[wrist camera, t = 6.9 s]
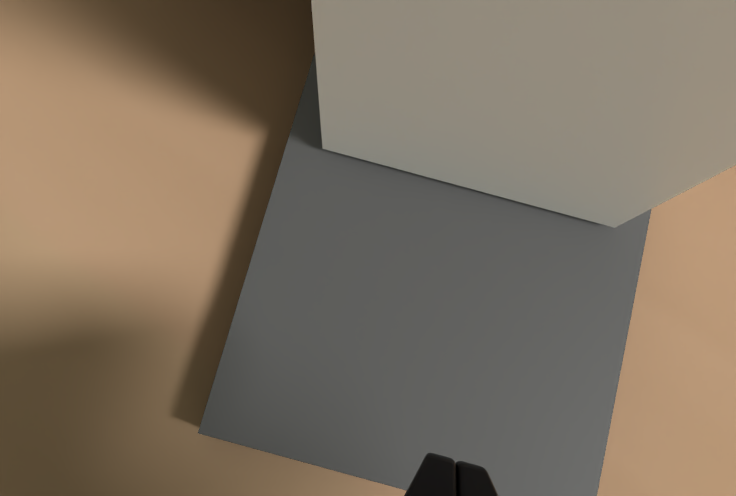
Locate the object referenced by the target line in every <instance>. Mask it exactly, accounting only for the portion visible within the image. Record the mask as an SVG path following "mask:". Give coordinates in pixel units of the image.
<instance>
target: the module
mask: <svg viewBox="0 0 736 496" xmlns="http://www.w3.org/2000/svg"><path fill="white" fill-rule="evenodd" d="M311 4H312V17H313V30H314V44H315V57H316V70H317V83H318V96H319V109H320V122H321V135H322V149H326V150H329V151H333V152H337V153H340V154H344V155H348V156H351V157H355V158H359V159H363V160H366V161H370V162H374V163H377V164H381V165H385V166H388V167H392V168H396V169H399V170H403V171H407V172H411V173H414V174H418V175H422V176H425V177H429V178H433V179H436V180H440V181H444V182H448V183H451V184H455V185H459V186H462V187H466V188H470V189H473V190H477V191H481V192H484V193H488V194H492V195H496V196H499V197H503V198H507V199H510V200H514V201H518V202H521V203H525V204H529V205H533V206H536V207H540V208H544V209H547V210H551V211H555V212H558V213H562V214H566V215H569V216H573V217H577V218H581V219H584V220H588V221H592V222H595V223H599V224H603V225H606V226H610V227H614V228H615V227H617V226H619V225H621V224H623V223H625V222H627V221H629V220H631V219H633V218H634V217H636V216H638V215H640V214H642V213H644V212H646V211H648V210H650V209H652V208H654V207H656V206H658V205H660V204H661V203H663V202H665V201H667V200H669V199H671V198H673V197H675V196H677V195H679V194H681V193H683V192H685V191H687V190H689V189H690V188H692V187H694V186H696V185H698V184H700V183H702V182H704V181H706V180H708V179H710V178H712V177H714V176H716V175H718V174H719V173H721V172H723V171H725V170H727V169H729V168H731V167H733V166H735V165H736V0H311Z"/></svg>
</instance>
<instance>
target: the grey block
mask: <svg viewBox="0 0 736 496" xmlns="http://www.w3.org/2000/svg"><path fill="white" fill-rule="evenodd" d="M650 213H651V209H650V210H648V211H646V212H644V213H642V214H640V215H638V216H636V217H634V218H633V219H631V220H629V221H627V222H625V223H623V224H621V225H619V226H617V227H615V228H614V227H610V226H606V225H603V224H599V223H595V222H592V221H588V220H584V219H581V218H577V217H573V216H569V215H566V214H562V213H558V212H555V211H551V210H547V209H544V208H540V207H536V206H533V205H529V204H525V203H521V202H518V201H514V200H510V199H507V198H503V197H499V196H496V195H492V194H488V193H484V192H481V191H477V190H473V189H470V188H466V187H462V186H459V185H455V184H451V183H448V182H444V181H440V180H436V179H433V178H429V177H425V176H422V175H418V174H414V173H411V172H407V171H403V170H399V169H396V168H392V167H388V166H385V165H381V164H377V163H374V162H370V161H366V160H363V159H359V158H355V157H351V156H348V155H344V154H340V153H337V152H333V151H329V150H326V149H322V135H321V122H320V109H319V96H318V83H317V70H316V57H315V53H314V56H313V60H312V63H311V66H310V69H309V73H308V76H307V79H306V82H305V86H304V89H303V92H302V95H301V99H300V102H299V105H298V109H297V112H296V115H295V118H294V122H293V125H292V128H291V131H290V135H289V138H288V141H287V144H286V148H285V151H284V154H283V157H282V161H281V164H280V167H279V170H278V174H277V177H276V180H275V184H274V187H273V190H272V193H271V197H270V200H269V203H268V206H267V210H266V213H265V216H264V219H263V223H262V226H261V229H260V232H259V236H258V239H257V242H256V245H255V249H254V252H253V255H252V258H251V262H250V265H249V268H248V272H247V275H246V278H245V281H244V285H243V288H242V291H241V294H240V298H239V301H238V304H237V307H236V311H235V314H234V317H233V320H232V324H231V327H230V330H229V333H228V337H227V340H226V343H225V346H224V350H223V353H222V356H221V360H220V363H219V366H218V369H217V373H216V376H215V379H214V382H213V386H212V389H211V392H210V395H209V399H208V402H207V405H206V408H205V412H204V415H203V418H202V421H201V425H200V428H199V431H198V433H199V434H203V435H206V436H210V437H214V438H217V439H221V440H225V441H228V442H232V443H236V444H239V445H243V446H246V447H250V448H254V449H257V450H261V451H265V452H268V453H272V454H276V455H279V456H283V457H287V458H290V459H294V460H298V461H301V462H305V463H309V464H312V465H316V466H319V467H323V468H327V469H330V470H334V471H338V472H341V473H345V474H349V475H352V476H356V477H360V478H363V479H367V480H371V481H374V482H378V483H382V484H385V485H389V486H393V487H396V488H400V489H403V490H408V488H409V486H410V484H411V482H412V480H413V478H414V476H415V474H416V473H417V471H418V469H419V467H420V465H421V463H422V461H423V459H424V457H425V456H426V454H428V453H435V454H438V455H442V456H446V457H449V458H452V459H453V460H454V461H455V463H456V462H457V461H464V462H468V463H471V464H475V465H478V466H481V467H484V468H485V469H486V470H487V472H488V474H489V476H490V478H491V480H492V483H493V485H494V487H495V489H496V492H497V494H498V496H597V492H598V487H599V481H600V476H601V471H602V466H603V460H604V455H605V450H606V445H607V439H608V434H609V429H610V424H611V418H612V413H613V408H614V402H615V397H616V392H617V387H618V381H619V376H620V371H621V366H622V360H623V355H624V350H625V345H626V339H627V334H628V329H629V324H630V318H631V313H632V308H633V303H634V297H635V292H636V287H637V282H638V276H639V271H640V266H641V261H642V255H643V250H644V245H645V240H646V234H647V229H648V224H649V219H650Z"/></svg>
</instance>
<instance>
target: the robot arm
mask: <svg viewBox="0 0 736 496" xmlns="http://www.w3.org/2000/svg"><path fill="white" fill-rule="evenodd" d="M404 496H498V494H497V492H496V489H495V487H494V485H493V483H492V480H491V478H490V476H489V474H488V472H487V470H486V469H485V468H484V467H481V466H478V465H475V464H471V463H468V462H464V461H457V462H456V463H455V461H454V460H453V459H452V458H449V457H446V456H442V455H438V454H435V453H428V454H426V456H425V457H424V459H423V461H422V463H421V465H420V467H419V469H418V471H417V473H416V474H415V476H414V478H413V480H412V482H411V484H410V486H409V488H408V490H407V492H406V493H405V495H404Z"/></svg>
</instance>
